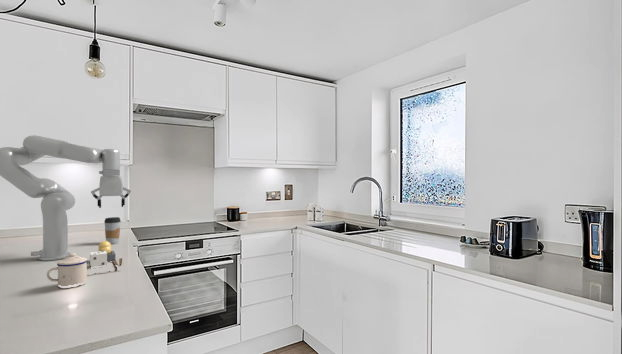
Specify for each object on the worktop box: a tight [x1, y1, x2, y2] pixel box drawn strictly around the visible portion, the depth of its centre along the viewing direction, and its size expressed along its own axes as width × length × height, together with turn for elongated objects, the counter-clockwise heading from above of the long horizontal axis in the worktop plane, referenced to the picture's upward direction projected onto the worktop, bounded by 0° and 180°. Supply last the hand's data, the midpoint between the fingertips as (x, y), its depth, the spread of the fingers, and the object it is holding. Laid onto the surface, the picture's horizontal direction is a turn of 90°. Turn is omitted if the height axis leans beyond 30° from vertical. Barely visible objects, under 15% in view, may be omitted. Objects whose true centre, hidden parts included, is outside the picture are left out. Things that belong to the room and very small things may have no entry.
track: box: [112, 257, 123, 266], centre depth 143 cm, size 17×19×3 cm
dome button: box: [97, 240, 112, 254], centre depth 156 cm, size 5×5×6 cm
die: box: [89, 251, 108, 268], centre depth 147 cm, size 6×6×6 cm
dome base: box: [107, 250, 116, 261], centre depth 156 cm, size 8×8×3 cm
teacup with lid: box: [46, 252, 88, 286], centre depth 121 cm, size 12×9×12 cm
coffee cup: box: [103, 216, 121, 245], centre depth 194 cm, size 8×8×15 cm
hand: (111, 207), depth 167 cm, fingers open, 9 cm apart
